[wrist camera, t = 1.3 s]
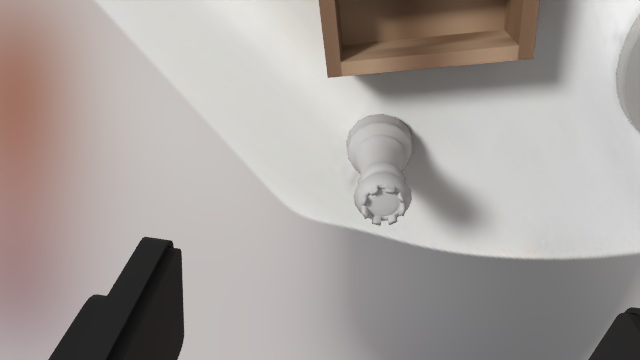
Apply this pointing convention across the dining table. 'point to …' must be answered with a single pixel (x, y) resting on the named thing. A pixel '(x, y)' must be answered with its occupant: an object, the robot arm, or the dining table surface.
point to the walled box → (424, 33)
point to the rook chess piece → (380, 167)
